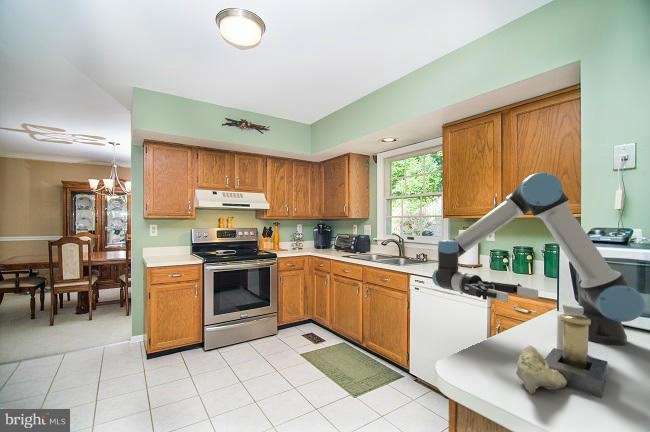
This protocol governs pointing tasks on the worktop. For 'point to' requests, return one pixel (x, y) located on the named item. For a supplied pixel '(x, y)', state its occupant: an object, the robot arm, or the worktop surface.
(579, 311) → the pill bottle
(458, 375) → the worktop surface
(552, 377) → the beige rock
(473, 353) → the worktop surface
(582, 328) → the brass flanged peg
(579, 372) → the block
